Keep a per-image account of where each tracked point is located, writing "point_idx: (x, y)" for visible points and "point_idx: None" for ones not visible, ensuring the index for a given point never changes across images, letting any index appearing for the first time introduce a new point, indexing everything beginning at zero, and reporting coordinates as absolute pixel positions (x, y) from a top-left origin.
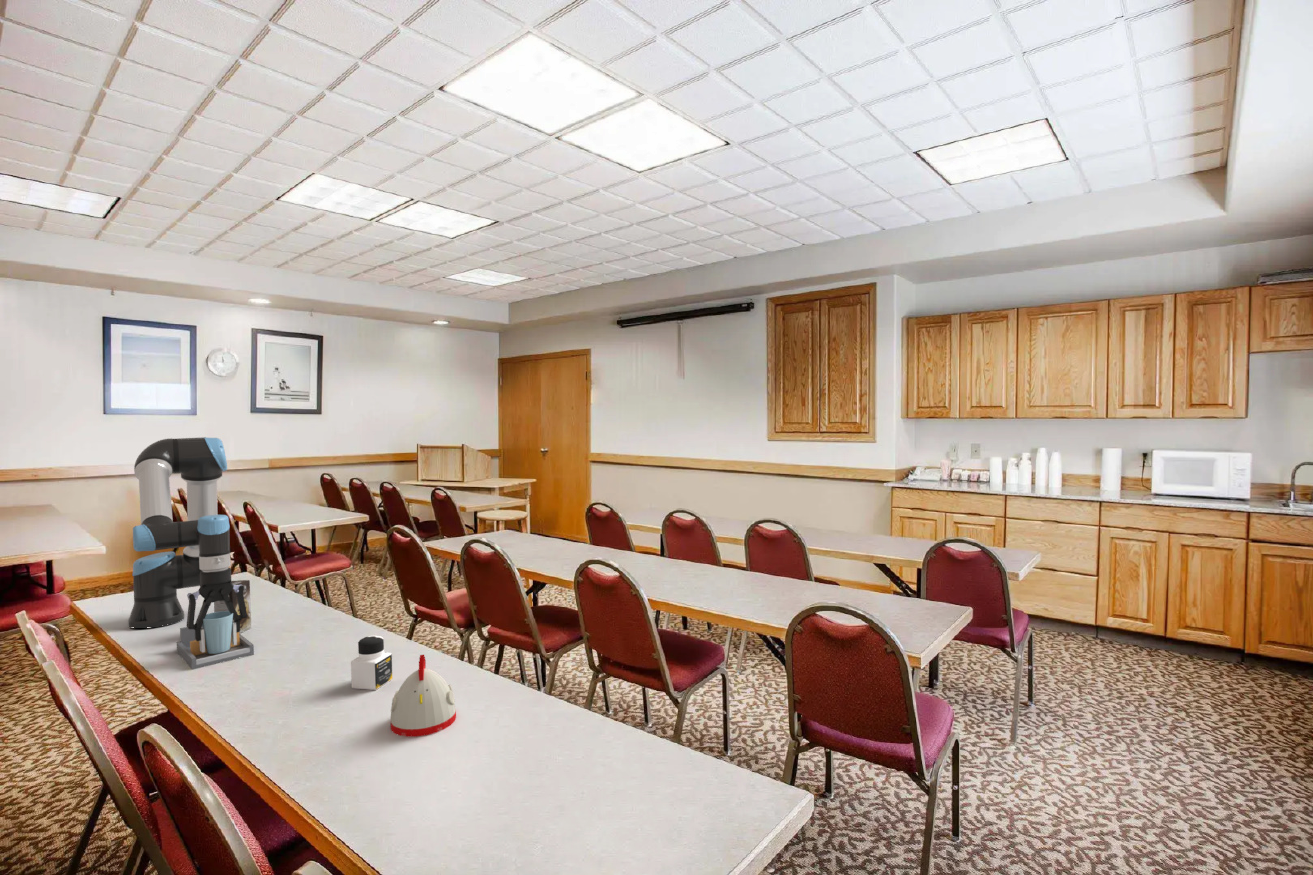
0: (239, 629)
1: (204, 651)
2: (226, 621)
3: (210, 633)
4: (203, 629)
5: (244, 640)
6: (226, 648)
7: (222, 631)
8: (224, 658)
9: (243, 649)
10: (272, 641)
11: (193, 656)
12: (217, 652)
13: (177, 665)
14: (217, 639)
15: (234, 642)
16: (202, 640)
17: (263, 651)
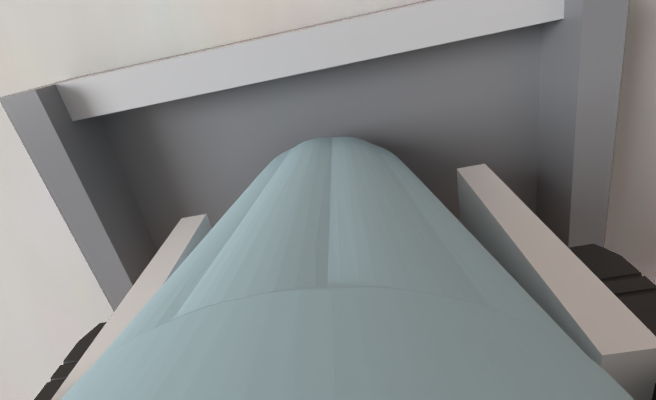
0: (80, 349)
1: (465, 168)
2: (88, 394)
3: (469, 238)
4: (619, 354)
5: (126, 287)
6: (269, 165)
7: (266, 216)
8: (293, 30)
9: (110, 73)
10: (6, 322)
11: (591, 53)
12: (349, 139)
13: (614, 183)
14: (351, 172)
15: (192, 227)
16: (533, 229)
17: (6, 123)
